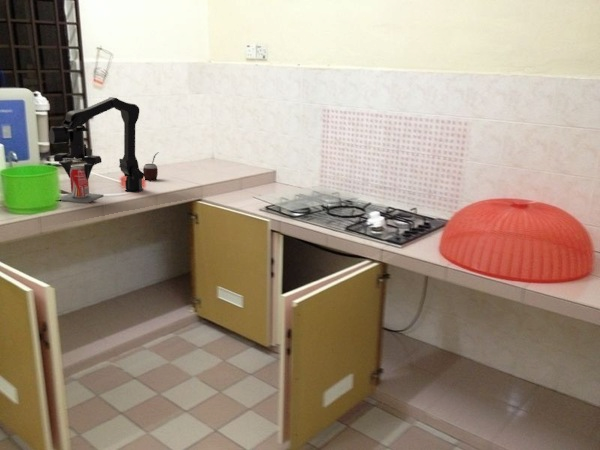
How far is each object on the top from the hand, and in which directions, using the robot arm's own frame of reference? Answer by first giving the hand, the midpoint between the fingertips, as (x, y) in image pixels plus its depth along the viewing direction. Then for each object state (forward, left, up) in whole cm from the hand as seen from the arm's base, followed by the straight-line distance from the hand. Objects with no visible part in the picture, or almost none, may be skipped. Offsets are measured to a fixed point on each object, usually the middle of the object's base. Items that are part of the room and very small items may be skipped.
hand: (79, 178), depth 234 cm
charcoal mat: (0, 0, -9) cm, 9 cm away
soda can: (0, 0, -8) cm, 8 cm away
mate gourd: (-13, -45, -9) cm, 48 cm away
